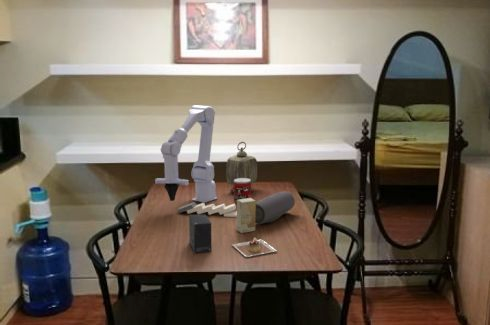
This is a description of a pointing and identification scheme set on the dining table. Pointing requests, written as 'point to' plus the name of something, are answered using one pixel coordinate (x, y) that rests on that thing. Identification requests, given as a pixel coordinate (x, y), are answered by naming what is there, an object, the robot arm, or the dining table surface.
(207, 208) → the domino
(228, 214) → the domino
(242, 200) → the skincare box
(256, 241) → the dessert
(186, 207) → the domino
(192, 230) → the small box
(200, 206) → the domino
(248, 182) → the canned food
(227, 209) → the domino
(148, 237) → the dining table surface
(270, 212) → the bluetooth speaker
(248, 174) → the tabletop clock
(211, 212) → the domino
